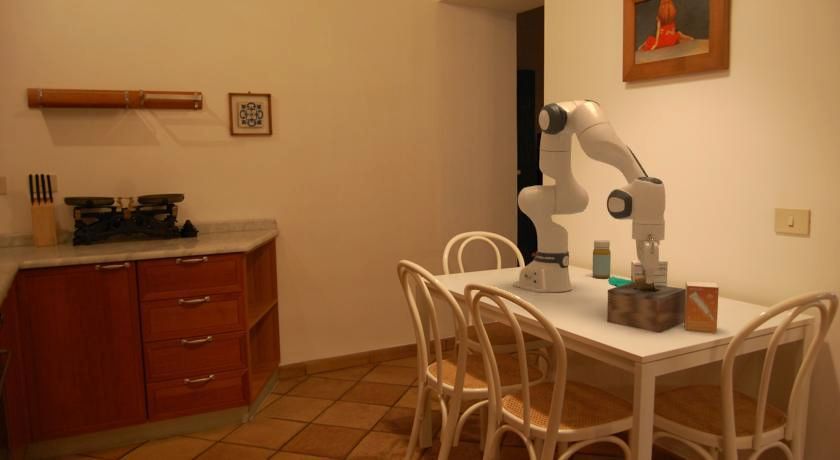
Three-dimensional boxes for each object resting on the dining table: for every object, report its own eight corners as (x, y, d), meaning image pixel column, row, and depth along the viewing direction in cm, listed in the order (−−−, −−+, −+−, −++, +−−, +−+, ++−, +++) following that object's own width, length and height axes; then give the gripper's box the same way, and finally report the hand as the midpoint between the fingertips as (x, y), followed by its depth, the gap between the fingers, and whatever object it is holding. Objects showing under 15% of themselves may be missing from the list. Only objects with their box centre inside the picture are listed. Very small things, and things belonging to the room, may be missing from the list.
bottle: (593, 278, 239) (594, 242, 237) (591, 275, 246) (592, 239, 244) (611, 278, 238) (612, 242, 236) (608, 275, 244) (609, 239, 243)
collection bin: (607, 322, 173) (607, 289, 172) (633, 312, 184) (634, 281, 182) (659, 333, 161) (660, 298, 160) (685, 322, 172) (686, 289, 171)
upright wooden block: (638, 294, 171) (634, 279, 170) (638, 291, 174) (634, 276, 173) (656, 291, 169) (652, 276, 168) (656, 288, 172) (652, 273, 171)
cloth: (645, 294, 211) (645, 288, 211) (605, 292, 215) (605, 286, 215) (640, 280, 236) (640, 274, 236) (604, 279, 240) (604, 273, 240)
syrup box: (651, 306, 191) (652, 262, 189) (632, 305, 192) (633, 262, 191) (648, 302, 197) (649, 260, 195) (629, 301, 198) (630, 259, 196)
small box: (685, 330, 163) (686, 285, 162) (683, 325, 169) (685, 280, 168) (717, 333, 160) (719, 287, 159) (714, 327, 166) (716, 282, 165)
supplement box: (638, 291, 213) (639, 257, 211) (659, 291, 212) (660, 257, 211) (646, 296, 205) (646, 261, 204) (667, 296, 205) (668, 260, 204)
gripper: (665, 237, 159) (663, 287, 160) (655, 229, 178) (653, 273, 180) (640, 237, 160) (639, 286, 162) (633, 229, 180) (632, 273, 181)
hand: (646, 279), depth 171 cm, fingers open, 8 cm apart
